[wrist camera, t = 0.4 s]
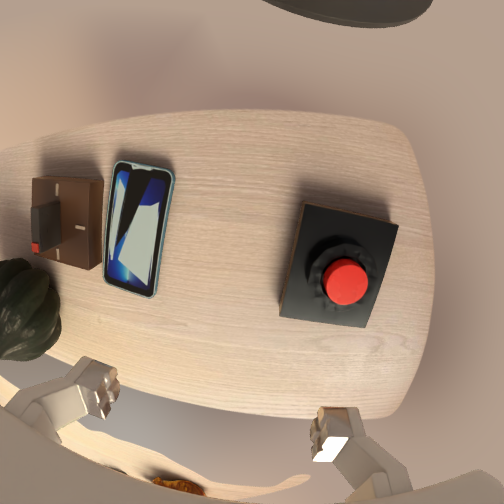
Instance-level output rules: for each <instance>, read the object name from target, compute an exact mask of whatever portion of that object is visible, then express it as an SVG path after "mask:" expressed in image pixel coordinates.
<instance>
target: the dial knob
mask: <svg viewBox="0 0 504 504" xmlns="http://www.w3.org/2000/svg"><path fill="white" fill-rule="evenodd" d="M60 207H61V203H60V202H54V201H52V202H49V203H45V204H42V205H38V206H35V207H31V232H32V243H31V245H32V251H33V252H35V253H39V254H41V253H43V252H45V251H47V250H49V249H51V248H53V247H55V246H58V245H60V244H61V223H60Z"/></svg>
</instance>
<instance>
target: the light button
mask: <svg viewBox="0 0 504 504" xmlns="http://www.w3.org/2000/svg"><path fill="white" fill-rule="evenodd" d="M323 283H324V287H325V289H326V292H327V294H328V296H329V298H330V299H331V300H332V301H333V302H335V303H337V304H341V305H348V304H352V303H354V302H356V301H358V300H359V299H360V298H361V297H362V296H363V295H364V293H365V292H366V289H367V286H368V278H367V275H366V273H365V271H364V270H363V269H362V268H361V266H360V265H359V264H358V263H357V262H355V261H354V260H351V259H339V260H337V261H335V262H333V263H332V264H330V265H329V267H328V268H327V269H326V271H325V273H324V277H323Z"/></svg>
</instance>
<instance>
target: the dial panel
mask: <svg viewBox="0 0 504 504" xmlns="http://www.w3.org/2000/svg"><path fill="white" fill-rule="evenodd" d="M103 188H104V181H103V180H93V179H82V178H70V177H57V176H43V177H37V178H32V207H35V206H38V205H42V204H45V203H49V202H52V201H54V202H60V203H61V207H60V223H61V244H60V245H58V246H55V247H53V248H51V249H49V250H47V251H45V252H43V253H41V254H39V253H35V252H34V255H37V256H41V257H44V258H47V259H50V260H54V261H57V262H61V263H64V264H67V265H71V266H75V267H78V268H82V269H85V270H91V269H92V268H94V267H95V266H97V265H98V264H100V263H101V262H102V205H103Z"/></svg>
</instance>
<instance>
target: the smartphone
mask: <svg viewBox="0 0 504 504" xmlns="http://www.w3.org/2000/svg"><path fill="white" fill-rule="evenodd" d="M174 184H175V175H174V173H173V172H172V171H171V170H170V169H166V168H162V167H157V166H152V165H147V164H142V163H137V162H132V161H127V160H120V161H118V162H117V163H116V164H115V165H114V168H113V173H112V179H111V186H110V193H109V201H108V209H107V218H106V229H105V241H104V258H103V278H104V281H105V282H106V283H107V284H109V285H111V286H114V287H116V288H119V289H122V290H125V291H127V292H130V293H133V294H136V295H139V296H142V297H145V298H152V297H154V295H155V294H156V292H157V286H158V278H159V271H160V264H161V257H162V250H163V244H164V238H165V232H166V226H167V220H168V214H169V209H170V204H171V199H172V194H173V189H174Z"/></svg>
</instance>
